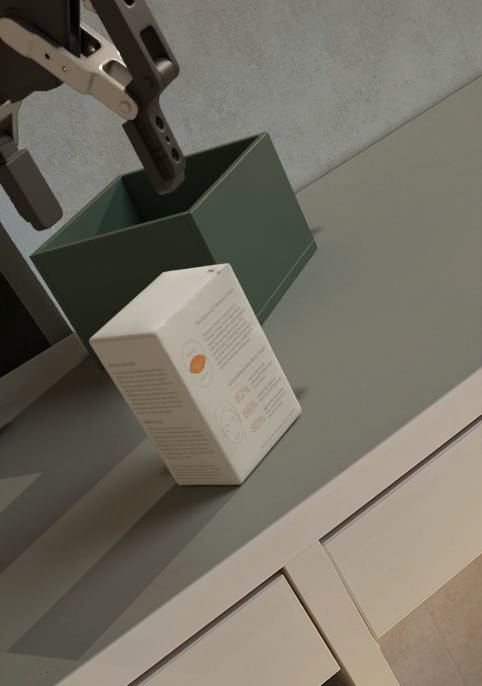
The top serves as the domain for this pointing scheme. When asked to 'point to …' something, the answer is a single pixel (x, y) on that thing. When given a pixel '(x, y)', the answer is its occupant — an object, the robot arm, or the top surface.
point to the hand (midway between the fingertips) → (110, 206)
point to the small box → (199, 375)
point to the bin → (180, 235)
